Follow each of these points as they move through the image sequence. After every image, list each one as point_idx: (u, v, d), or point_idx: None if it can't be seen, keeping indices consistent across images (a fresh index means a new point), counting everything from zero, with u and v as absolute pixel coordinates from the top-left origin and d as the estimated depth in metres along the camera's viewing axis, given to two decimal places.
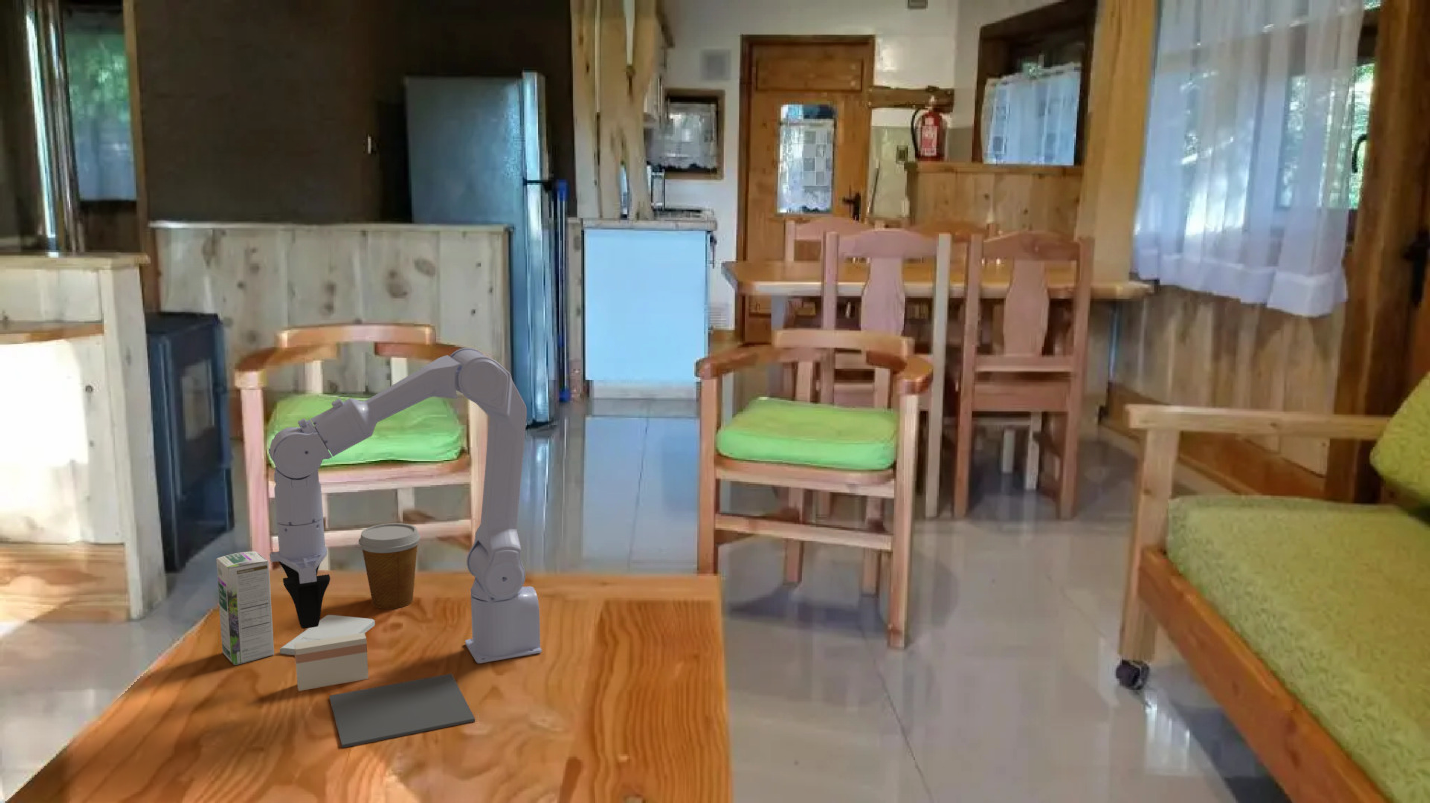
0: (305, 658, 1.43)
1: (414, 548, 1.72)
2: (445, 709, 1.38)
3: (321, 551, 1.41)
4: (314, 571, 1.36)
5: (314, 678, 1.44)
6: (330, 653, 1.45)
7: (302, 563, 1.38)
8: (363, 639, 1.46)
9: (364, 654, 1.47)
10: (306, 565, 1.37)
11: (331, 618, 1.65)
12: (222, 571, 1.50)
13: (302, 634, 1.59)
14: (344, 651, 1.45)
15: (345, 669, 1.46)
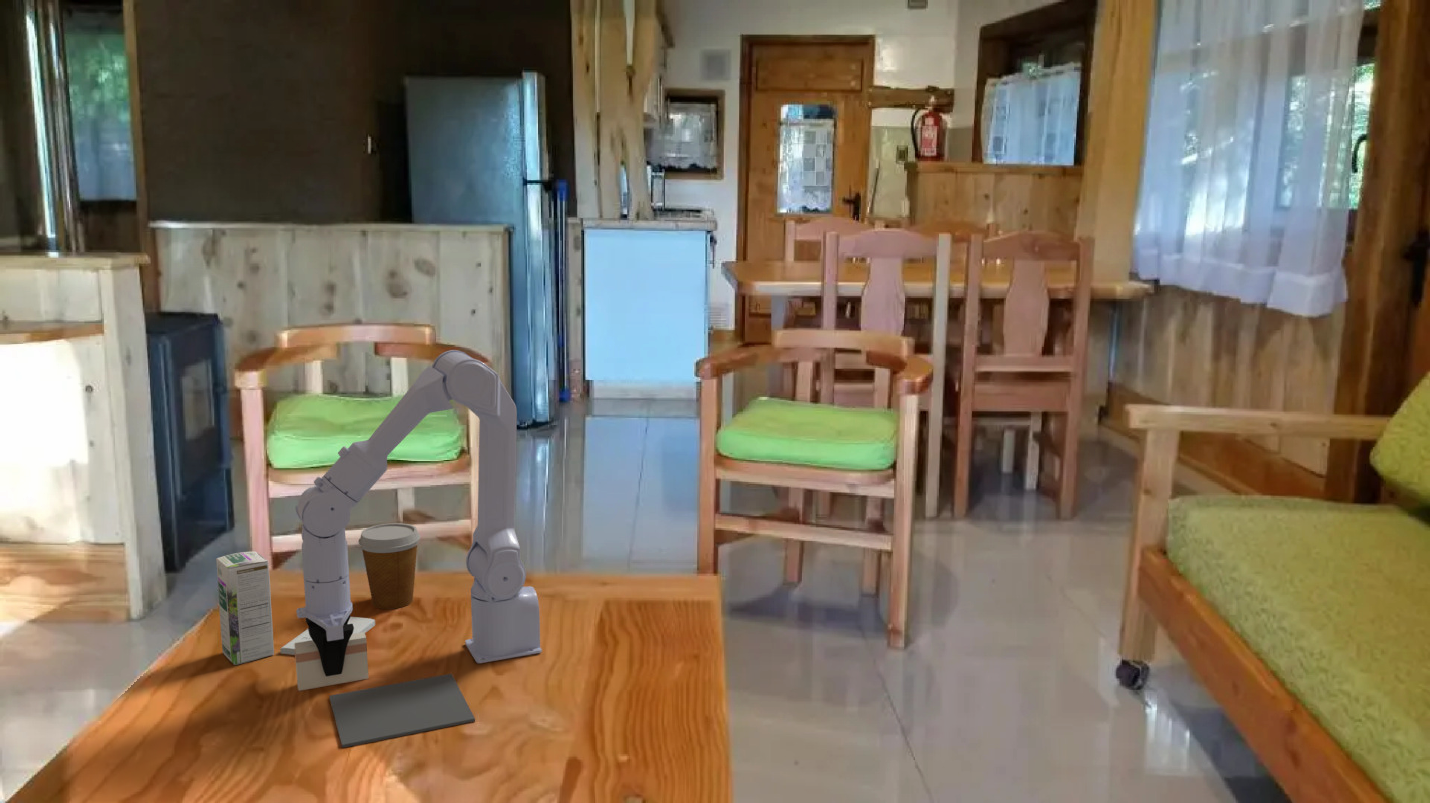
0: (305, 657, 1.43)
1: (414, 548, 1.72)
2: (445, 709, 1.38)
3: (347, 607, 1.44)
4: (341, 629, 1.38)
5: (314, 677, 1.44)
6: None
7: (329, 620, 1.40)
8: (363, 638, 1.46)
9: (364, 654, 1.47)
10: (333, 622, 1.39)
11: None
12: (222, 571, 1.50)
13: (302, 634, 1.59)
14: None
15: (345, 668, 1.46)
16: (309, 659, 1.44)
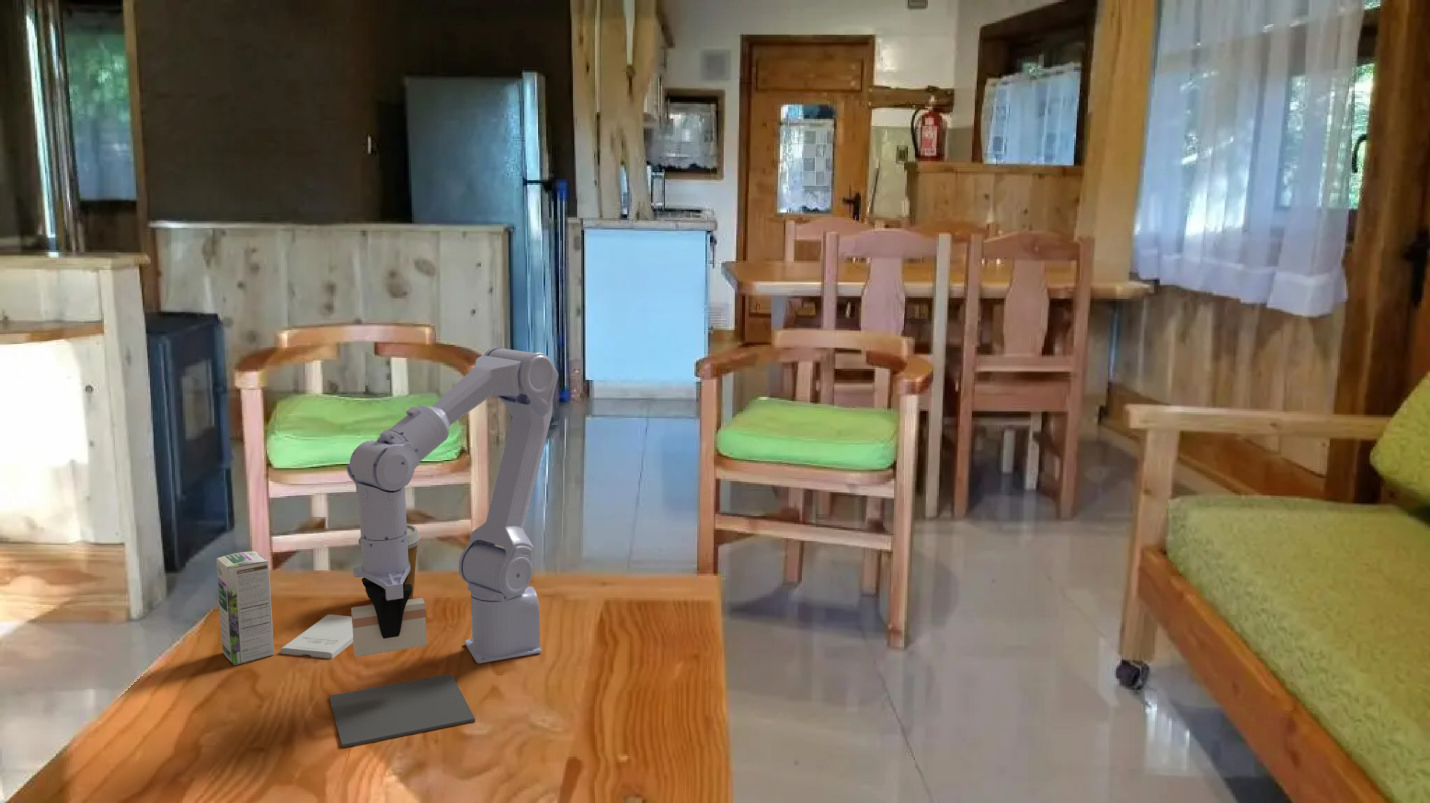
0: (363, 622, 1.38)
1: (414, 548, 1.72)
2: (445, 709, 1.38)
3: (405, 566, 1.38)
4: (401, 587, 1.33)
5: (371, 643, 1.39)
6: None
7: (388, 579, 1.35)
8: (422, 604, 1.41)
9: (423, 620, 1.41)
10: (392, 581, 1.34)
11: (332, 617, 1.65)
12: (222, 571, 1.50)
13: (303, 634, 1.59)
14: None
15: (403, 635, 1.41)
16: (367, 624, 1.38)
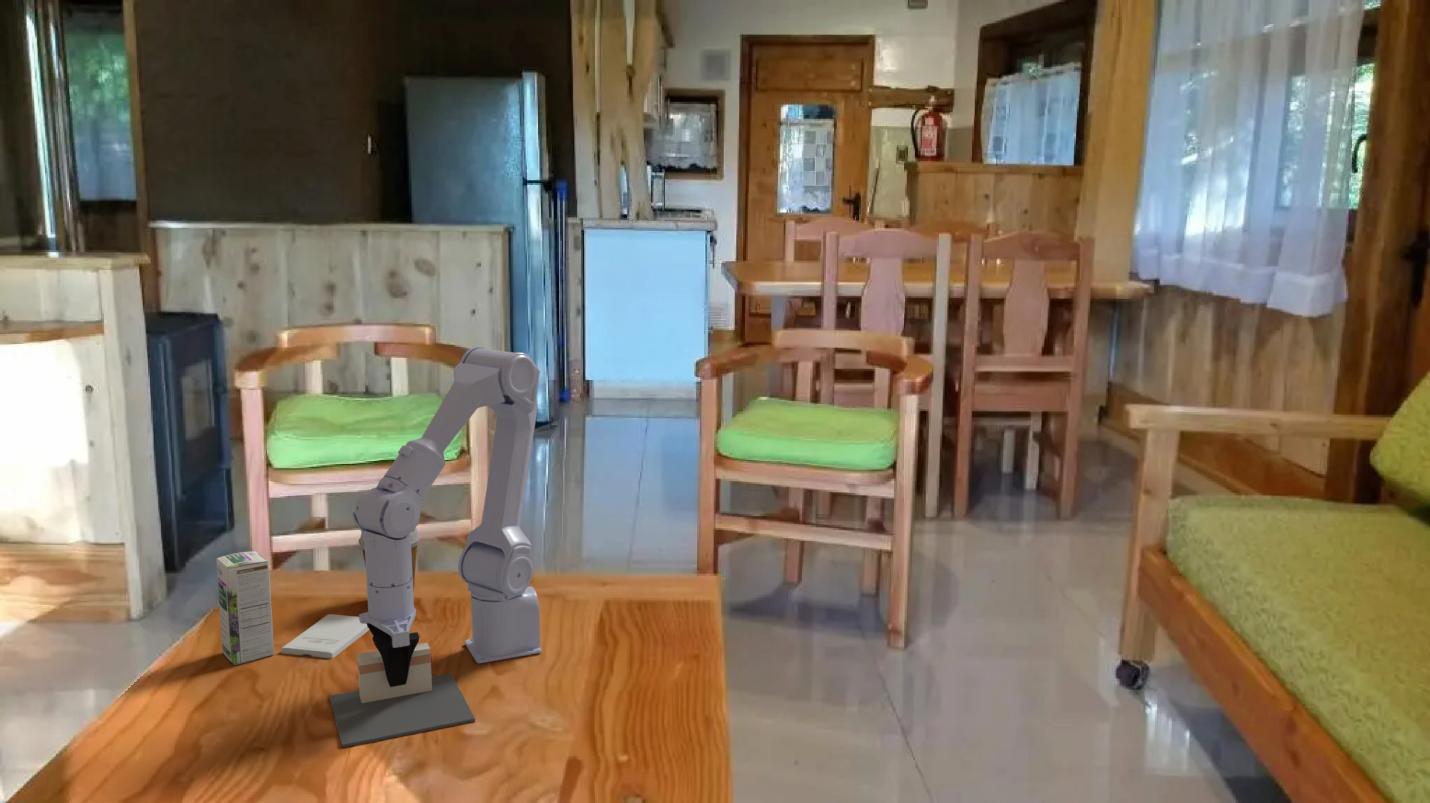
0: (369, 669, 1.39)
1: (414, 548, 1.72)
2: (445, 709, 1.38)
3: (411, 612, 1.39)
4: (407, 635, 1.34)
5: (377, 689, 1.40)
6: None
7: (394, 626, 1.36)
8: (427, 649, 1.42)
9: (428, 665, 1.42)
10: (399, 628, 1.35)
11: (332, 617, 1.65)
12: (222, 571, 1.50)
13: (303, 634, 1.60)
14: None
15: (409, 680, 1.42)
16: (373, 671, 1.39)
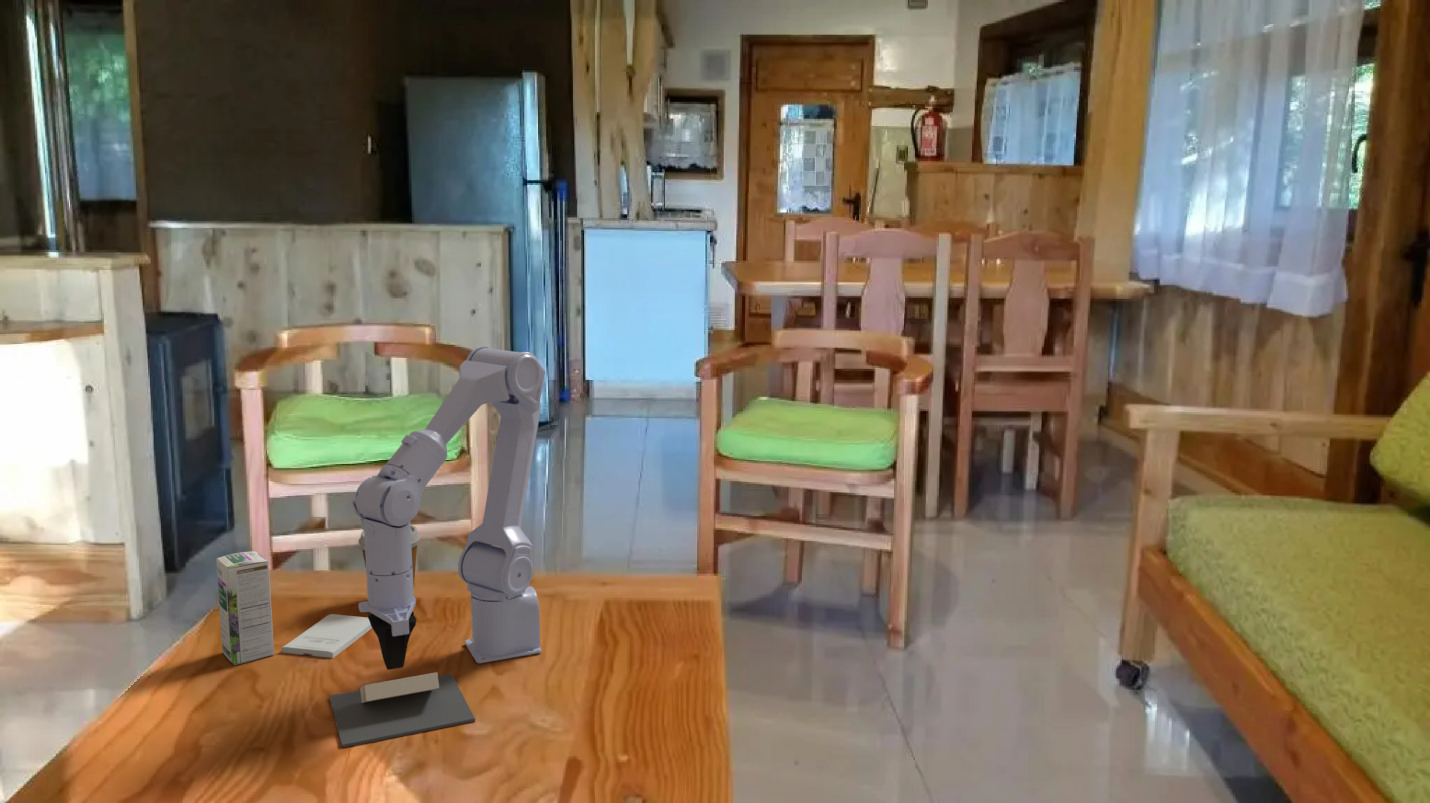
0: (374, 700, 1.36)
1: (414, 548, 1.72)
2: (445, 709, 1.38)
3: (411, 601, 1.39)
4: (407, 623, 1.33)
5: (379, 699, 1.39)
6: (400, 695, 1.37)
7: (393, 614, 1.35)
8: (436, 688, 1.38)
9: (433, 689, 1.40)
10: (398, 617, 1.34)
11: (333, 617, 1.66)
12: (222, 571, 1.50)
13: (304, 633, 1.60)
14: (414, 692, 1.38)
15: (411, 693, 1.40)
16: (378, 699, 1.37)
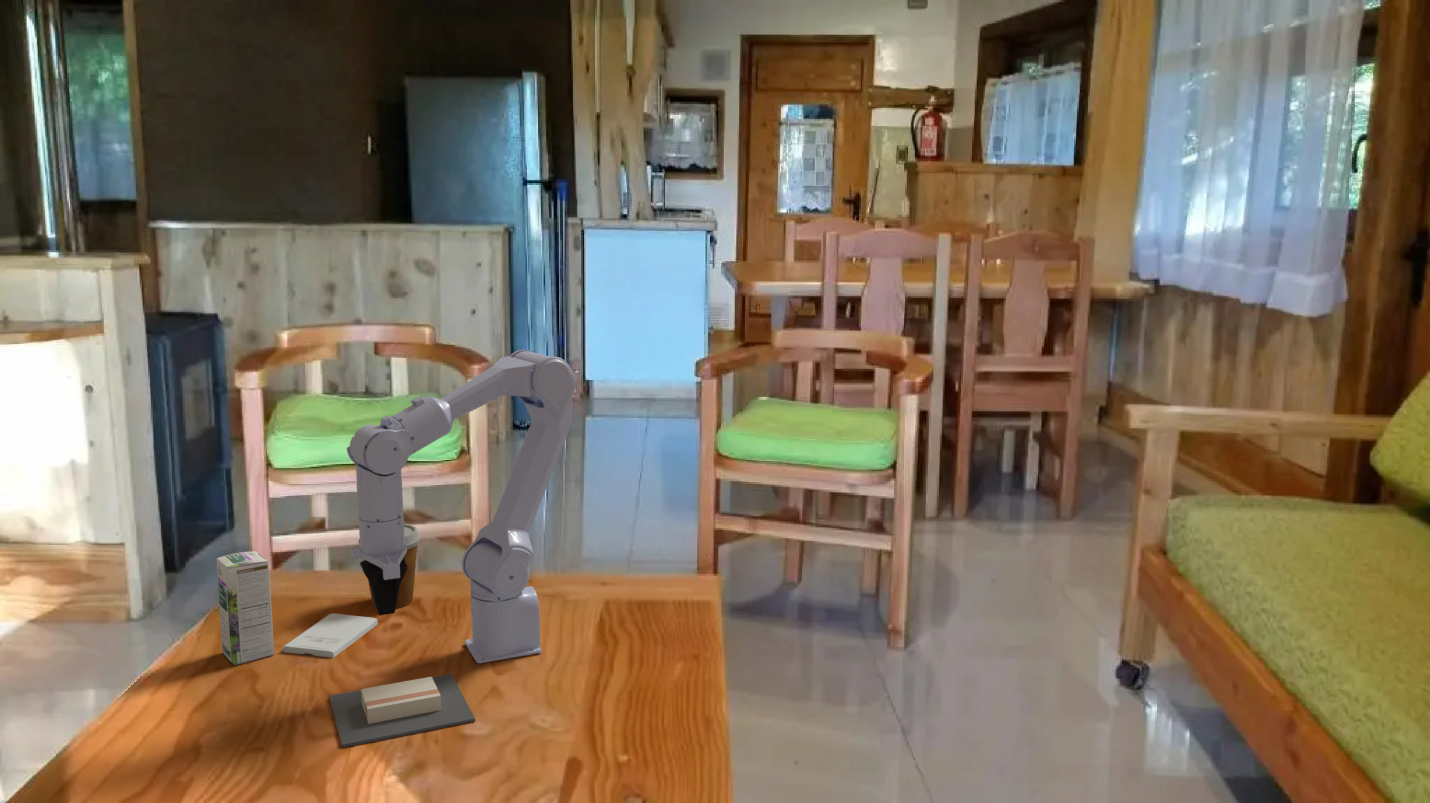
0: None
1: (414, 548, 1.72)
2: (445, 709, 1.38)
3: (402, 548, 1.42)
4: (398, 567, 1.37)
5: None
6: None
7: (385, 559, 1.39)
8: (438, 709, 1.38)
9: None
10: (390, 561, 1.38)
11: (334, 616, 1.66)
12: (222, 571, 1.50)
13: (305, 632, 1.60)
14: None
15: None
16: None
